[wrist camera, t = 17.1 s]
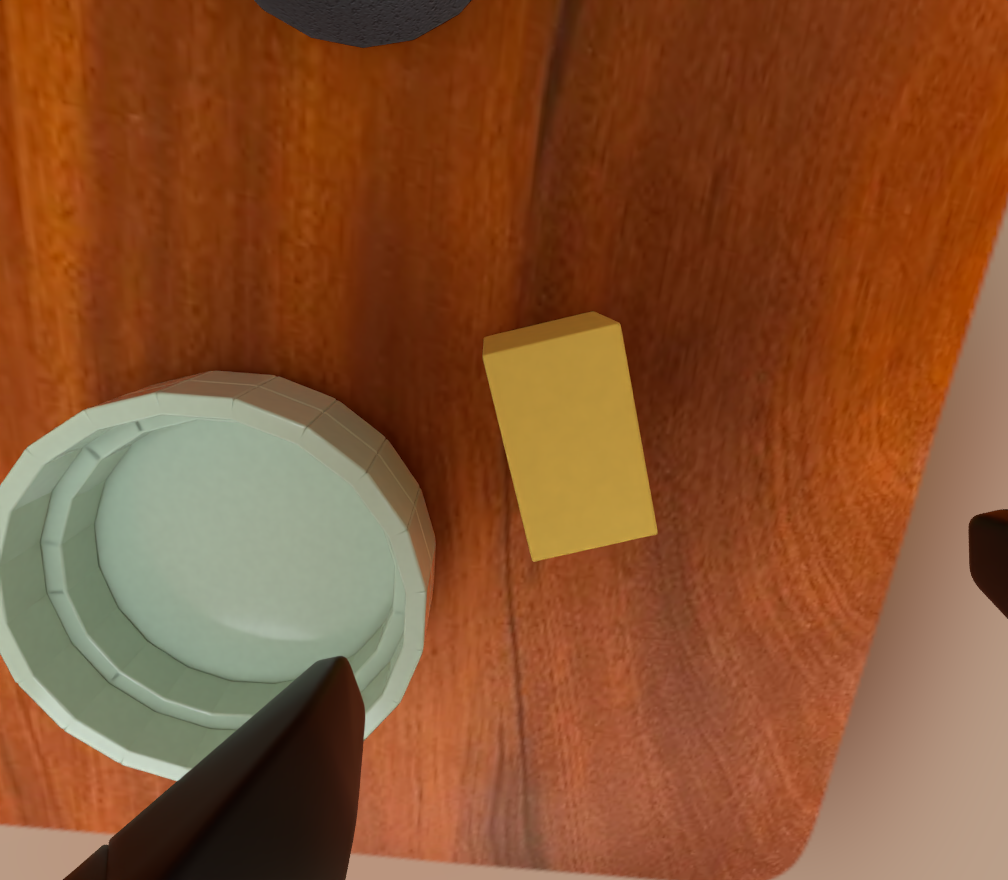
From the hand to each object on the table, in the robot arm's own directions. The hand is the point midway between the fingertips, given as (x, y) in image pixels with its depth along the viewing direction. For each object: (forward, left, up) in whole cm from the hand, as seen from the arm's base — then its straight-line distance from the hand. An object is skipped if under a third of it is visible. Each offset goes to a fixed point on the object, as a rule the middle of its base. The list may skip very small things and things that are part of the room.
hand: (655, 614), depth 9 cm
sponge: (0, 0, -12) cm, 12 cm away
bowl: (-2, +11, -12) cm, 16 cm away
